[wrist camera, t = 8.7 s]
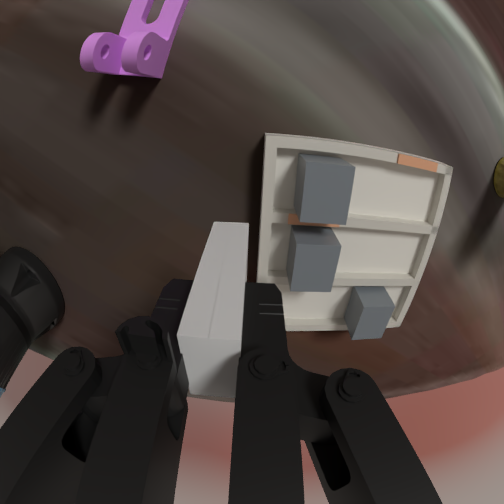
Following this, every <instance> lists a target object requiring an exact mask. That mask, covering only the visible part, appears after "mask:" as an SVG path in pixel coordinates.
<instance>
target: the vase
mask: <svg viewBox="0 0 504 504" xmlns="http://www.w3.org/2000/svg"><path fill="white" fill-rule="evenodd" d="M494 187H495V191H496V193H497V194H498V196H499V197H502V198H504V157H503V158H501V159H500V160H499V162H498V163H497V166H496V168H495V172H494Z"/></svg>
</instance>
